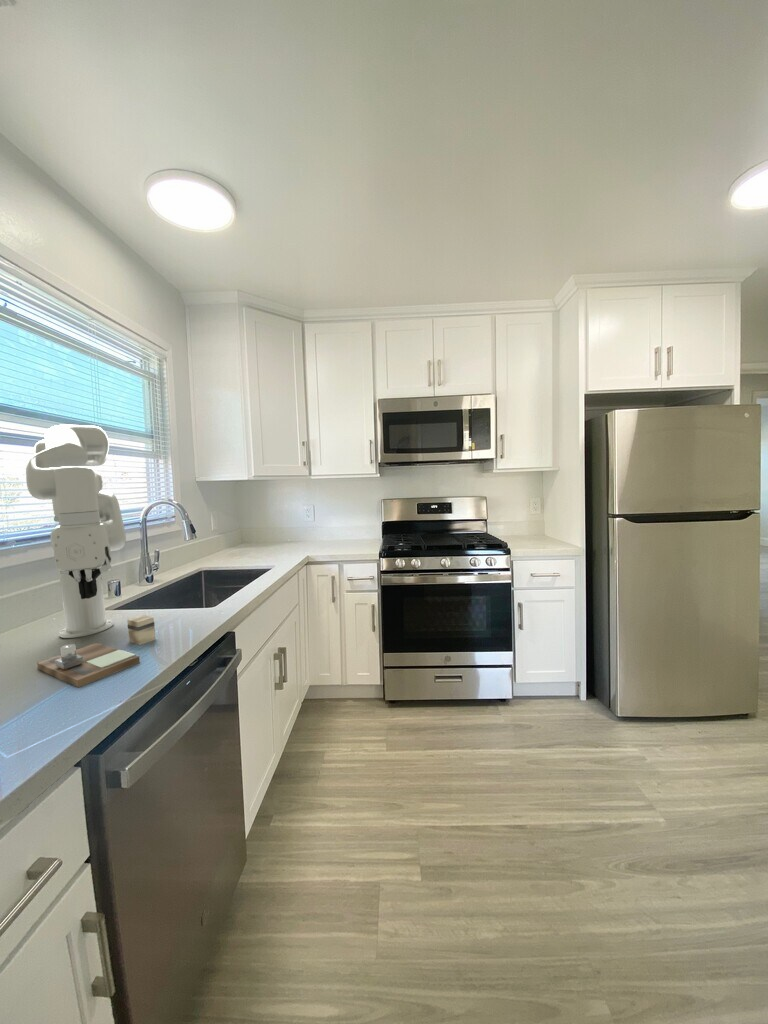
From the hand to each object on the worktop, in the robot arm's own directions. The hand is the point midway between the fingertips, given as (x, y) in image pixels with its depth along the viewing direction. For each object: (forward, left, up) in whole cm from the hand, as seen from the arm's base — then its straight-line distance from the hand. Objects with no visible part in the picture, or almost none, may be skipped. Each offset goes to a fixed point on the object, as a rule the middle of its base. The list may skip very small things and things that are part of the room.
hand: (89, 597), depth 94 cm
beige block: (0, +11, -15) cm, 18 cm away
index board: (+4, -3, -15) cm, 16 cm away
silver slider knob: (+4, -7, -13) cm, 15 cm away
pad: (+9, -1, -13) cm, 16 cm away
